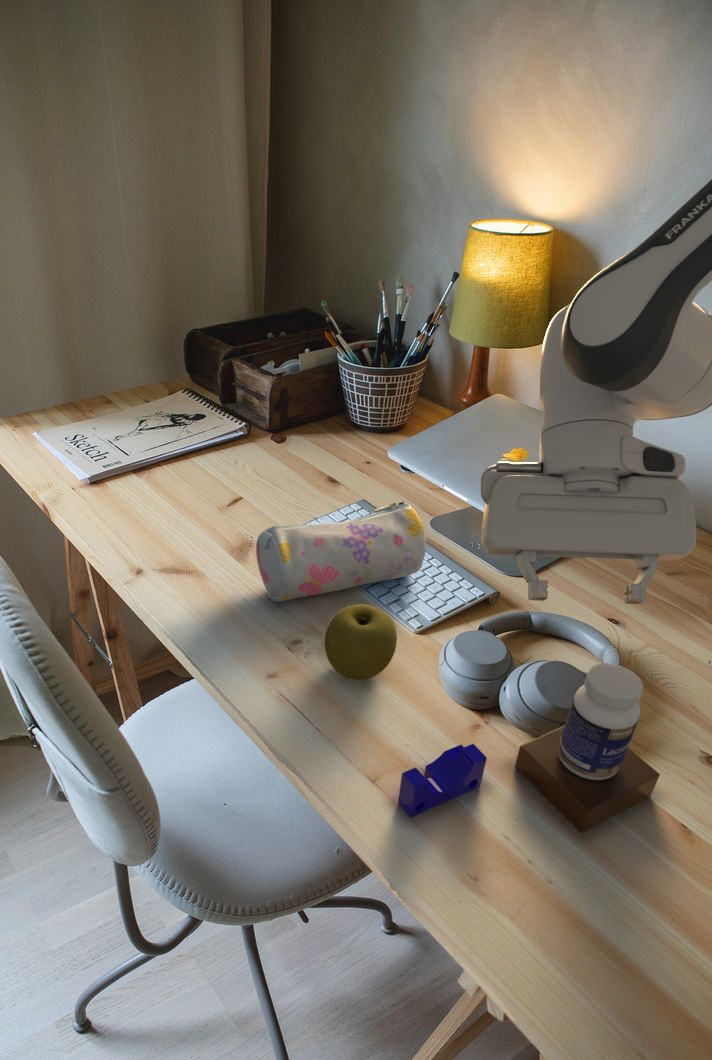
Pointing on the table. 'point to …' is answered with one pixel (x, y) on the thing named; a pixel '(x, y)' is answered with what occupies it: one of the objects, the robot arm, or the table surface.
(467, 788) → the cable holder
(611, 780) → the block
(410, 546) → the pencil case
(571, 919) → the table surface
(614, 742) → the pill bottle
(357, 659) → the apple
